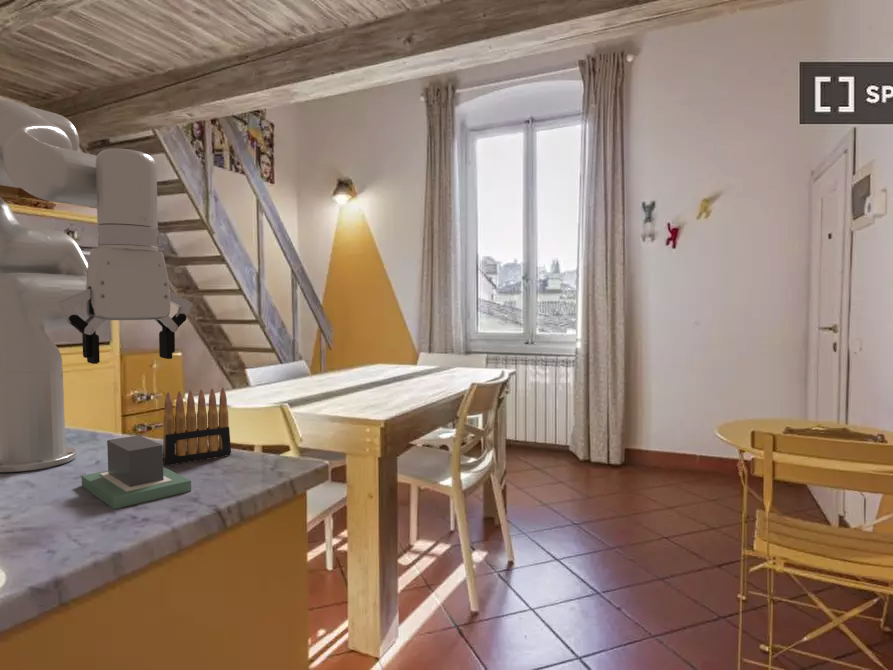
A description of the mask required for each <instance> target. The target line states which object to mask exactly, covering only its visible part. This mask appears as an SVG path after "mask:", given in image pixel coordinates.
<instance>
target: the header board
mask: <svg viewBox="0 0 893 670" xmlns="http://www.w3.org/2000/svg"><path fill="white" fill-rule="evenodd" d="M163 476H164V480H161V481H156V482H152V483H147V484H143V485H138V486H133V487H129V486H127V485H126V484H124V483H123V482H121V481H119V480H118V479H116V478H114V477H113V476H111V475H110V474H108V470H103V471H99V472H93V473H89V474H84V475H83V474H82V475H81V486H82V487H83V488H84V489H86V490H87V491H88V492H90V493H91V494H93V495H94V496H95V497H97V498H98V499H99V500H101V501H102V502H104V503H105V504H107V505H108V506H110V507H111V508H112V509H113V510H117V509H120V508H125V507H129V506H134V505H138V504H142V503H146V502H151V501H154V500H159V499H163V498H168V497H171V496H176V495H178V494H183V493H187V492H192V480H191V479H189V478H187V477H185V476H183V475H181V474H178V473H177V472H174V471H173V470H171V469H168V468H166V467H165V466H163Z"/></svg>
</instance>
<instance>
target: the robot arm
mask: <svg viewBox="0 0 893 670" xmlns="http://www.w3.org/2000/svg"><path fill="white" fill-rule="evenodd" d="M79 149H80V137H79V134H78V130H77V129H76V127H75V125H74V124H73V123H72V121H70V120H69V119H68V118H66V117H65V116H63V115H61V114H58V113H55V112H51V111H49V110H44V109H40V108H36V107H33V106H29V105H27V104H22V103H19V102H16V101H9V100H2V99H0V186H4V187H11V188H17V189H21V190H23V191H25V192H26V193H28V194H30V195H31V196H33V197H35V198H38V199H40V200H44V201H47V202H51V203H52V202H53V203H60V204H66V205H67V204H68V205H69V204H70V205H75V206H76V205H77V206H81V207H88V208H95V209H96V221H97V223H96V224H97V247H95V248H91V249H90V252H89V257H88V260H87V258H86V257H85V255H84V253H83V251H82V249H81V248H80V246H79V244H78V243H77V242H76V240H74V239H75V238H72V236H70V235H68V234H67V233H66V232H63V231H60V230H56V229H48V228H39V227H32V226H26V225H24V224H21V223H20V222H19V221H18V220H17V218H16V217H15V215H14V212H13V211H12V209H11V207H10V206H9V204H7V202H6V201H5V199H3V198H2V197H1V196H0V473H18V472H19V473H20V472H28V471H36V470H41V469H49V468H52V467H56V466H60V465H63V464H66V463H68V462H71V461H73V460H74V459H76V458H77V454H78V453H77V452H78V451H77V449H76V448H74V447H72V446H66V445H67V444H66V443H67V442H66V423H65V422H66V420H65V419H66V418H65V398H64V397H65V396H64V394H65V393H64V373H63V371H64V370H63V358H62V353H61V352H60V349H59V348H58V346H57V345H56V344H55V343H54V341H53V340H52V339H51V337H50V336H49V335H48V334H47V333H46V331H53V330H72V329H73V330H75V329H76V330H77V331H79V333H80V334H81V335H82V357H83V358H86V362H87V363H88V364H93V365H97V364H99V363H100V362H101V361H100V336H99V334H97V330H98V329H99V328H100V326H102V324H104V322H105V321H143V320H144V321H145V320H146V321H149V320H151V321H152V320H153V321H155V322H156V323H157V324H158V325H159V326H160V327H161V330H160V331H159V332H158V342H159V343H158V346H159V348H158V350H159V351H158V352H159V353H158V354H159V357H160V358H161V359H166V360H172V359H173V354H175V352H176V339H175V338H176V337H175V336H176V335H175V334H176V332H178V329H179V328H180V327H181V326H182V324H183V323H185V322H186V320H187V317H188V315H189V314H190V311H191V310H192V308H193V303H192V302H191V301H190V300H188V299H186V298H184V297H182V296H180V295H178V294H176V293H174V292H172V291H170V282H169V274H168V269H167V265H166V261H165V256H164V252H163V251H159V248H160V246H162V245H167V244H168V243H169V237H168V235H166V234H165V235H164V234H162V233H160V229H158V228H159V226H158V225H159V224H158V222H159V221H158V171H157V163H156V161H155V159H154V158H153V157H152V156H151V155H150V154H148V153H147V152H146V153H145V152H143V151H140V150H134V149H127V148H118V147H116V148H115V147H114V148H106V149H105V148H104V149H102V150H101V151H99V153H97V155H95V154H92V153H87V152H83V151H79ZM171 303H172V304H174V305H176V306H177V307H178V308H177V312H176V314H174V315H173V316H172V317H171V316H169V315H170V313H171Z"/></svg>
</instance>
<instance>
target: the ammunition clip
mask: <svg viewBox="0 0 893 670" xmlns="http://www.w3.org/2000/svg"><path fill="white" fill-rule="evenodd" d="M176 394H177V395H176V398H175V399H176V401H175V415H174V410H173V400H172V397H171V393H170V392H169V391H168V392H166V394H165V399H164V410H163V411H164V414H163V442H162V443H163V444H162V445H163V465H165V466H172V465H171V464H173V465H177V464H176V463H179V464H183V462H185V463H189V462H188V461H192V462H195V461H194V460H198V461H201V460H200V459H205V460H208V459H207V458H211V459H215V458H214V457H218V458H223V457H222V456H224V457H226V456H225V455H230V453H231V454H232V448H231V434H230V432H231V431H230V426H229V424H230V423H229V409H228V400H227V393H226V390H225V388H224V387H222V388H221V390H220V393H219V404H218V405H219V406H218V407H219V408H218V407H217V397H216V393H215V390H214V388H211V389H210V392H209V395H208V412H207V407H206V397H205V393H204V391H203V389H201V388H200V390H199V393H198V397H197V412H196V407H195V406H196V405H195V404H196V402H195V397H194V393H193V391H192V390H189V391H188V394H187V399H186V412H185V408H184V407H185V406H184V405H185V404H184V403H185V402H184V399H183V398H184V397H183V394H182V392H181V391H178V392H177V393H176ZM185 413H186V414H185Z"/></svg>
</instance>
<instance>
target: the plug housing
mask: <svg viewBox="0 0 893 670" xmlns="http://www.w3.org/2000/svg"><path fill="white" fill-rule="evenodd" d="M106 443H107V445H106V446H107V471H108V474H110V475H111V476H113V477H114V478H116V479H118V480H119V481H121V482H123V483H124V484H126V485H127V486H129V487H133V486H138V485H143V484H147V483H152V482H156V481H161V480H164V476H163V467H164V463H163V444H161V443H159V442H156V441H154V440H152V439H149V438H147V437H145V436H143V435H137V434H136V435H131V436H125V437H119V438H118V437H117V438H112V439H107V441H106Z"/></svg>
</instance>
